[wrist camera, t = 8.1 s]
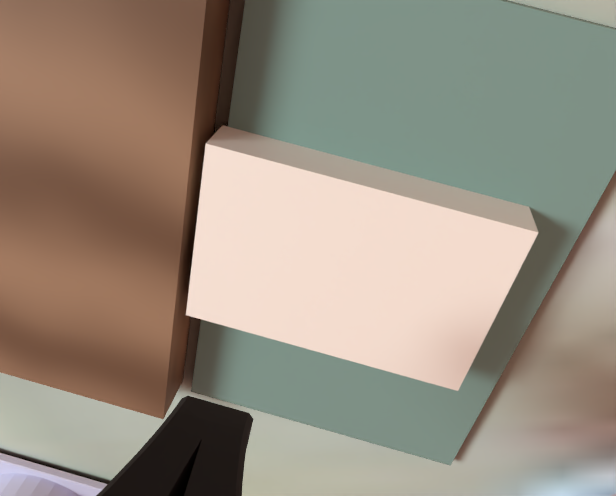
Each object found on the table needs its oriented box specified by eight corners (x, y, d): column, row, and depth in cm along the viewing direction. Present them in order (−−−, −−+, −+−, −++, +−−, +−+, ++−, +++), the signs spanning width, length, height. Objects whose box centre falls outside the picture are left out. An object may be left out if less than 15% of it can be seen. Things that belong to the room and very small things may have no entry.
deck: (182, 380, 22) (163, 418, 21) (-100, 300, 23) (-141, 331, 21) (238, -69, 14) (213, -66, 12) (-215, -185, 14) (-300, -198, 12)
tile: (455, 358, 19) (457, 391, 18) (201, 288, 19) (185, 315, 18) (529, 206, 16) (538, 232, 14) (222, 125, 16) (205, 143, 15)
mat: (449, 456, 22) (450, 465, 22) (194, 384, 22) (190, 391, 22) (677, 44, 13) (684, 47, 13) (257, -64, 14) (253, -63, 13)
